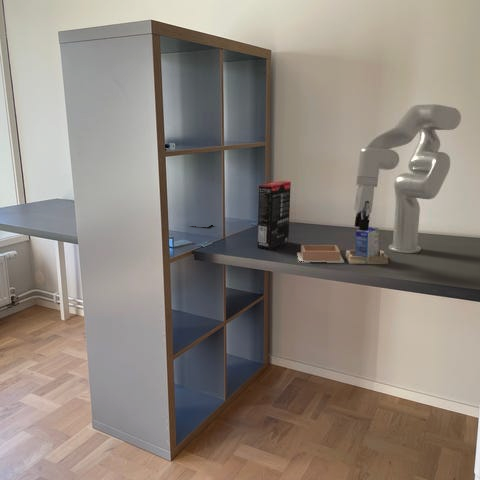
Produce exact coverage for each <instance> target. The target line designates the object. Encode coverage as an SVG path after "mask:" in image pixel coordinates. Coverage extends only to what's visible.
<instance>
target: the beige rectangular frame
mask: <svg viewBox="0 0 480 480" xmlns="http://www.w3.org/2000/svg"><path fill="white" fill-rule="evenodd" d="M355 252H356V249H345V258H346V260H347V261H348V264H350V265H353V264H354V265H355V264H356V265H358V264H359V265H361V264H362V265H365V257H362V256H355V254H356V253H355ZM368 262H369V263H368V264H367V265H388V264H389V256H388V255H387V254H386V253H385V251H383V249H381V250H379V249H378V256H370V257H369V260H368Z"/></svg>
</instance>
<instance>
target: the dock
mask: <svg viewBox="0 0 480 480" xmlns="http://www.w3.org/2000/svg"><path fill="white" fill-rule="evenodd" d="M296 256H298V257H297V261H298V260H299V261H302V262H301V263H310V262H327V263H329V264H332V263H333V264H334V263H336V264H345V261H344V259H343V257H342V255H341V251H340V248H339V247H338V245H337V244H301V245H300V252H296ZM299 261H298V262H299ZM303 261H304V262H303Z"/></svg>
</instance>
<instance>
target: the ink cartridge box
mask: <svg viewBox="0 0 480 480" xmlns="http://www.w3.org/2000/svg"><path fill="white" fill-rule="evenodd" d="M379 231H380V230H379V227H371V226H369V227H368V231H362V230H359V229H357V230H355V250H356V252H355V253H356V254H355V256H362V257H365V264H367V265H369V264H368V263H369V262H368V260H369V257H370V256H378V250H379ZM365 264H364V265H365Z"/></svg>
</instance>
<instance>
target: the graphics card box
mask: <svg viewBox="0 0 480 480" xmlns="http://www.w3.org/2000/svg"><path fill="white" fill-rule="evenodd" d="M291 185H292V183H291V181H288V180H287V181H286V180H280V181H274V182H271V183H270V182H269V183H265V184H259V185H258V206H257V207H258V210H257V211H258V213H257V243H256V245H257V248H259V249H264V250H273V249H275V248H278V247H280V246H282V244H283V245H284V244H288V243H289V240H290V239H289V236H290V235H289V233H290V232H289V231H290V213H291V212H290V210H291V204H290V203H291V188H292V187H291ZM277 246H278V247H277Z"/></svg>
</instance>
